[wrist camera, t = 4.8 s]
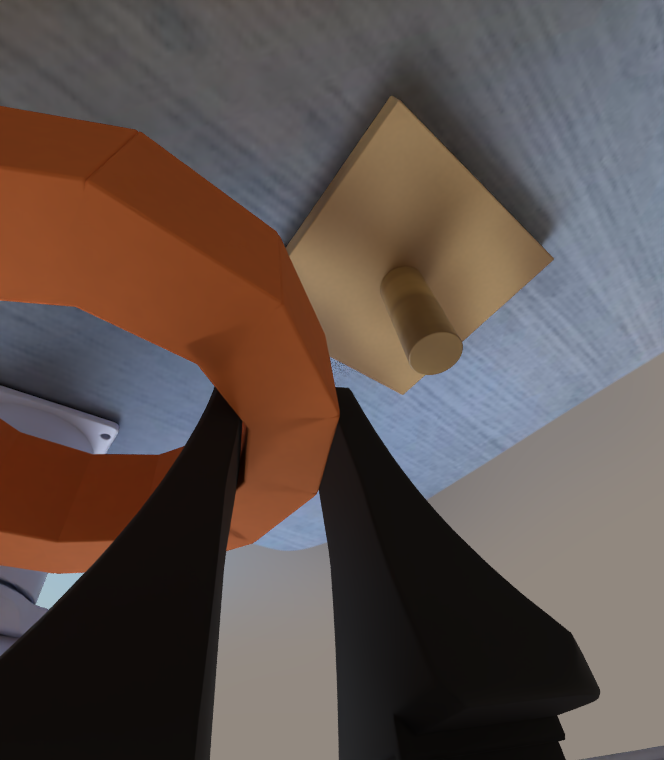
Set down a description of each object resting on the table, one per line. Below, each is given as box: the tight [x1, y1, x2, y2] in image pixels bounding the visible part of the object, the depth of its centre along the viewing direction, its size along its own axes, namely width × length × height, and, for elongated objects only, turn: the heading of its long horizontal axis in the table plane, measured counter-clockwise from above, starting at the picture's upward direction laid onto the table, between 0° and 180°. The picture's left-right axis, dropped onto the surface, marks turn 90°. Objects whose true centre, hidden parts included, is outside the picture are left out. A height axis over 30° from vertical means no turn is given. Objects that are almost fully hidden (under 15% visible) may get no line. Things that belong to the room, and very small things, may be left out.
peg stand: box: [286, 95, 554, 395], centre depth 17 cm, size 10×10×6 cm
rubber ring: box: [0, 106, 340, 574], centre depth 10 cm, size 12×12×3 cm
